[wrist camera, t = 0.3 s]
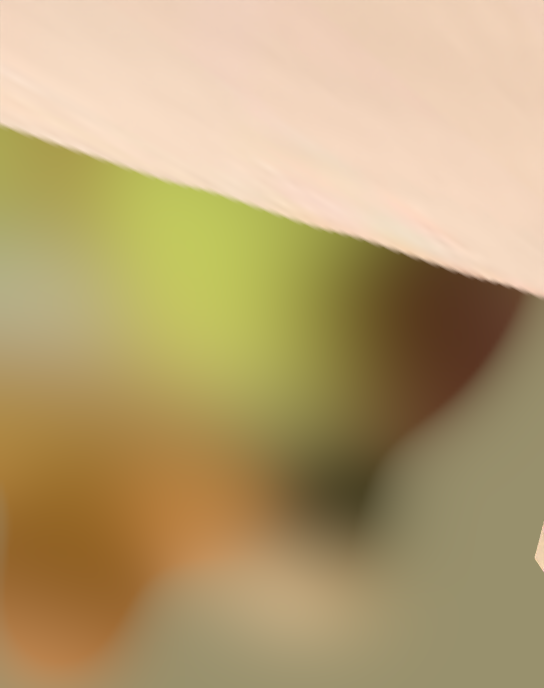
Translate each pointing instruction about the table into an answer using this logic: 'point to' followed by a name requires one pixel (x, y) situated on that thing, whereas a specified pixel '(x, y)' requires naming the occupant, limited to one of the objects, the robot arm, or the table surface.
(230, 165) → the table surface
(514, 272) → the table surface
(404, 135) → the table surface
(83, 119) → the table surface
